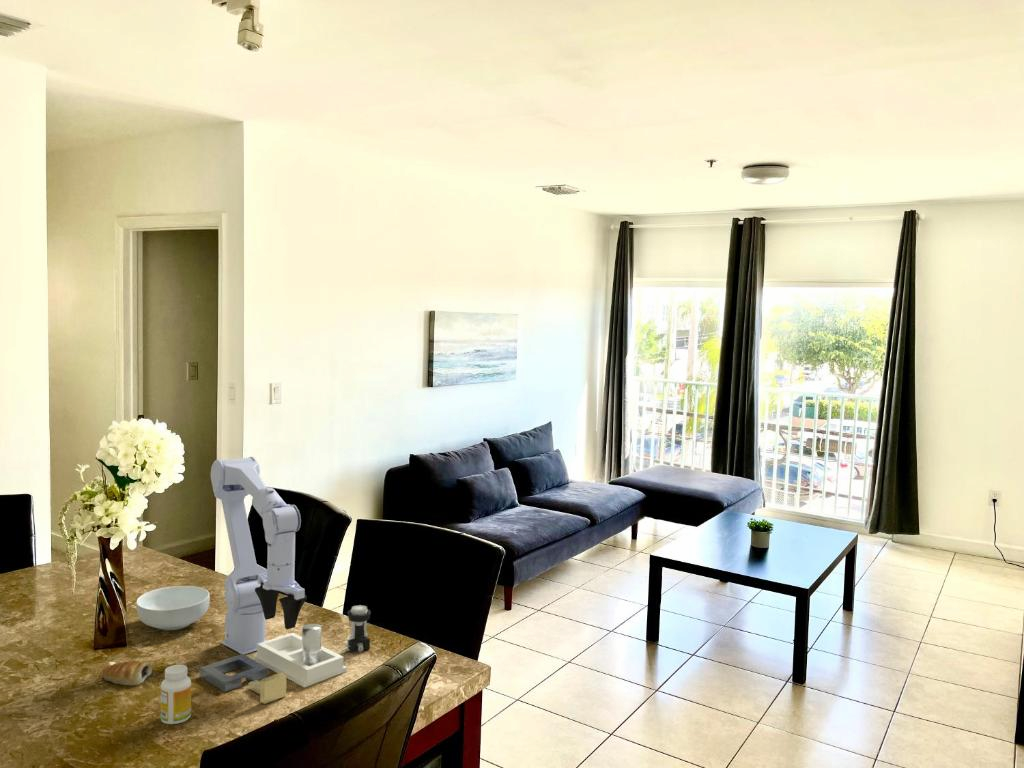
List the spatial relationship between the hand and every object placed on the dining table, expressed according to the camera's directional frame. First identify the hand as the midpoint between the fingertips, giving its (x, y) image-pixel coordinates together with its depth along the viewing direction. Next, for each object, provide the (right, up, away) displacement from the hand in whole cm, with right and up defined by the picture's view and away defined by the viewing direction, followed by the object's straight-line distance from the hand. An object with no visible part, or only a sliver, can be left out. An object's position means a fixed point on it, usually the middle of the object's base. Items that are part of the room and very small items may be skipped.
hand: (279, 623), depth 176 cm
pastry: (-30, -10, -7) cm, 32 cm away
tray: (+4, -10, +3) cm, 11 cm away
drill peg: (+7, -10, 0) cm, 12 cm away
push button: (+14, -10, +12) cm, 21 cm away
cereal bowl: (-33, -7, +23) cm, 41 cm away
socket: (-9, -10, -4) cm, 14 cm away
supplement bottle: (-14, -12, -22) cm, 28 cm away
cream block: (0, -11, -11) cm, 16 cm away
